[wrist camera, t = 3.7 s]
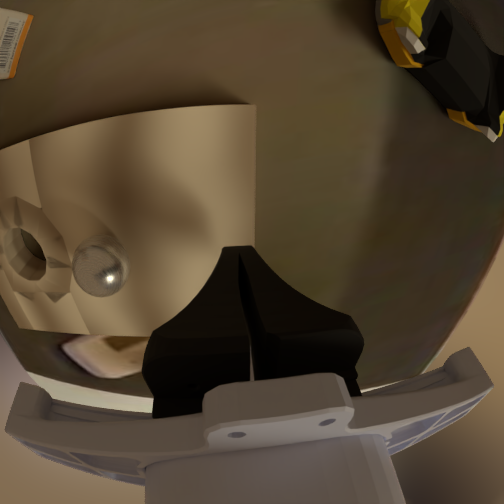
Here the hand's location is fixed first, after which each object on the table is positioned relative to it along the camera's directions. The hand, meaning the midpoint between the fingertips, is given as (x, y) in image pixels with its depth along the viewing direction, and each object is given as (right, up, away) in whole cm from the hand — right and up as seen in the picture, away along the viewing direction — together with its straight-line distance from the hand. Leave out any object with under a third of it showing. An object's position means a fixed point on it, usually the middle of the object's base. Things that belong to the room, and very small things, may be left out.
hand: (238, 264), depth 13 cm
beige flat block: (-9, +2, +3) cm, 10 cm away
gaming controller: (+14, +15, -1) cm, 21 cm away
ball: (-7, 0, 0) cm, 7 cm away
